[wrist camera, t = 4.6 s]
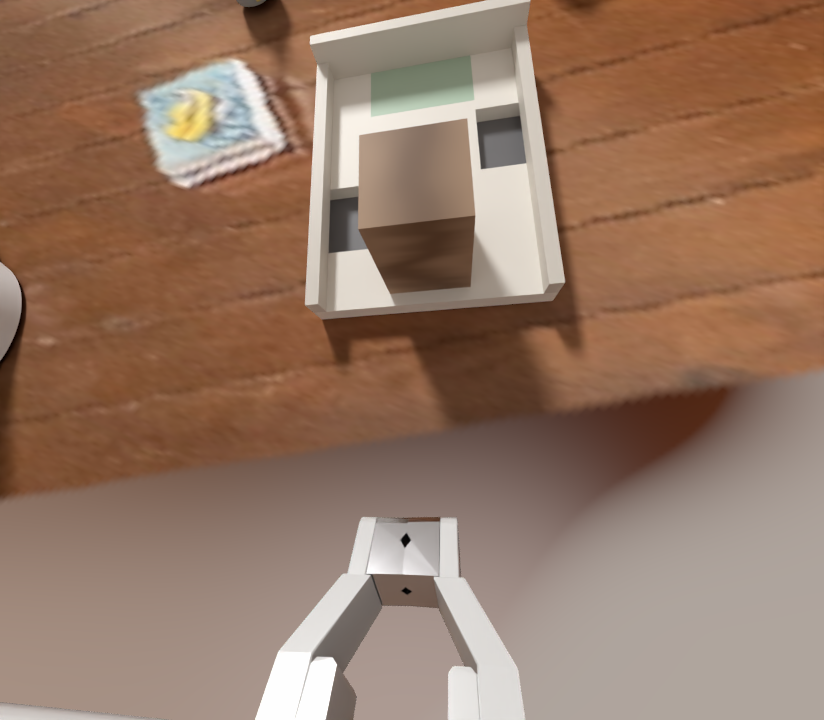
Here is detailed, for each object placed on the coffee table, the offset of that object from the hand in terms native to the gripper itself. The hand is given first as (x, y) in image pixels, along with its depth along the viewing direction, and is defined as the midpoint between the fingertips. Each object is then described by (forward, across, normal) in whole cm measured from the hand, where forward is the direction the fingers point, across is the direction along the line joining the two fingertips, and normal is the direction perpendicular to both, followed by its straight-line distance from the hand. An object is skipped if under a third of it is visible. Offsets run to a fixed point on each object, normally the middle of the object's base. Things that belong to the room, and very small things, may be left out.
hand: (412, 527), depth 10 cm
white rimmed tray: (+26, 0, -8) cm, 28 cm away
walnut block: (+20, 0, -4) cm, 20 cm away
